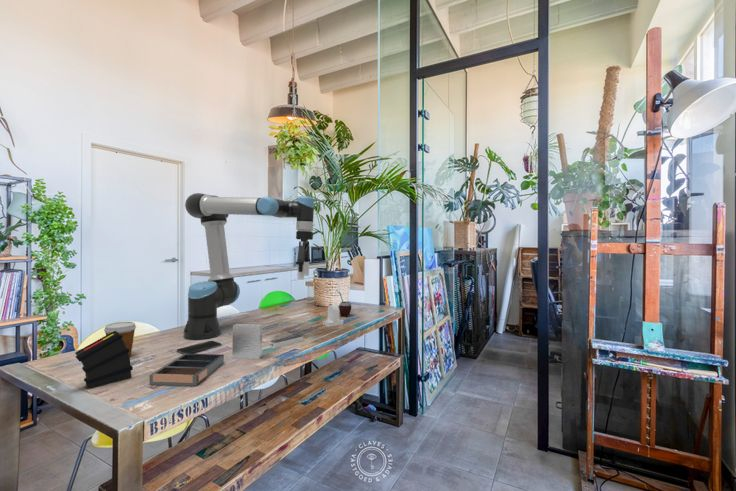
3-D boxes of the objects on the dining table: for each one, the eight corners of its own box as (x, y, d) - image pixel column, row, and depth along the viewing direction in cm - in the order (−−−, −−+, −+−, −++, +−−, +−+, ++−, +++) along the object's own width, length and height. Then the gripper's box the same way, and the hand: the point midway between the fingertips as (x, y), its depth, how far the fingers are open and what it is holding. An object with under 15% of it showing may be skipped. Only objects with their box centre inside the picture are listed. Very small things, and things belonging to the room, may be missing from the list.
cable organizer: (322, 324, 177) (322, 305, 177) (338, 322, 184) (338, 303, 183) (327, 327, 173) (328, 307, 173) (343, 324, 179) (344, 305, 179)
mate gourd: (353, 316, 196) (353, 290, 196) (340, 318, 192) (341, 291, 192) (347, 314, 202) (347, 288, 202) (335, 315, 199) (335, 289, 198)
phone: (175, 349, 132) (211, 340, 145) (175, 352, 132) (211, 342, 145) (186, 353, 128) (222, 343, 140) (186, 356, 128) (222, 346, 140)
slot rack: (149, 384, 103) (149, 374, 103) (184, 361, 122) (184, 353, 122) (197, 386, 102) (197, 376, 102) (224, 363, 121) (224, 354, 121)
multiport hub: (303, 341, 149) (303, 336, 149) (274, 349, 139) (274, 343, 139) (297, 339, 152) (297, 334, 152) (268, 346, 142) (268, 341, 142)
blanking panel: (232, 358, 126) (232, 325, 126) (235, 355, 129) (236, 323, 129) (259, 359, 126) (259, 326, 126) (261, 356, 129) (262, 324, 129)
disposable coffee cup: (141, 356, 126) (141, 323, 126) (111, 364, 118) (111, 329, 118) (128, 351, 131) (128, 320, 131) (98, 358, 123) (98, 325, 123)
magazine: (143, 369, 110) (119, 331, 104) (97, 400, 101) (68, 360, 95) (139, 366, 112) (116, 329, 107) (94, 396, 103) (65, 357, 98)
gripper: (308, 230, 144) (307, 281, 144) (316, 231, 169) (315, 274, 169) (290, 230, 144) (289, 280, 144) (301, 231, 169) (299, 274, 169)
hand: (303, 277), depth 157 cm, fingers open, 13 cm apart
